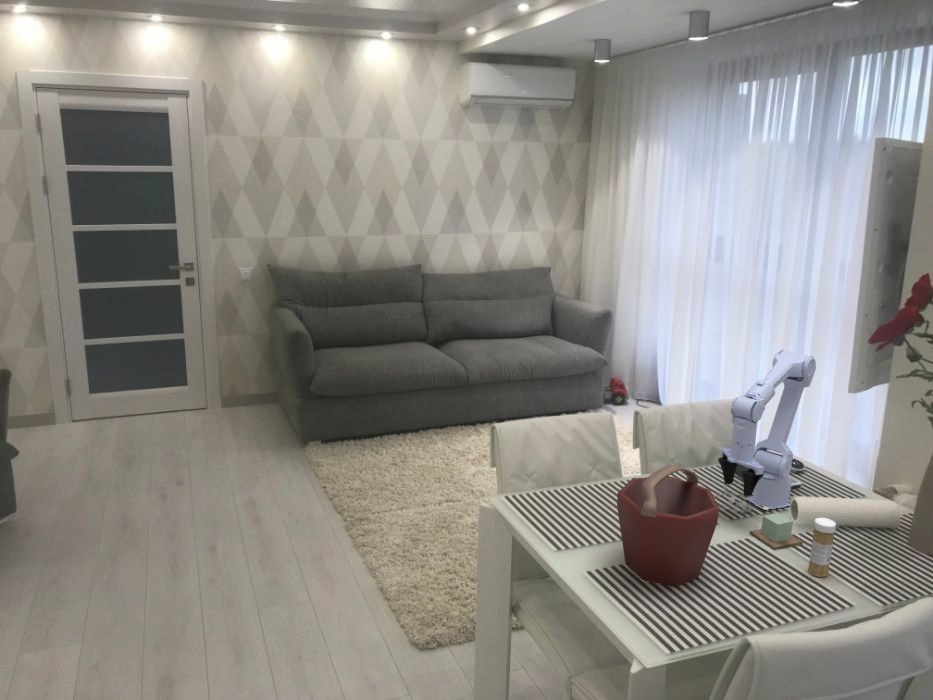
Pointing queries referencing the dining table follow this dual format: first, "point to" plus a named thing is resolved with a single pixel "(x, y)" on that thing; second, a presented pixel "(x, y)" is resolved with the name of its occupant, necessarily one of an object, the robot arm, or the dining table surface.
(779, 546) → the walnut board
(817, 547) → the sprinkles bottle
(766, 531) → the green cube
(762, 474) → the robot arm
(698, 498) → the bucket
